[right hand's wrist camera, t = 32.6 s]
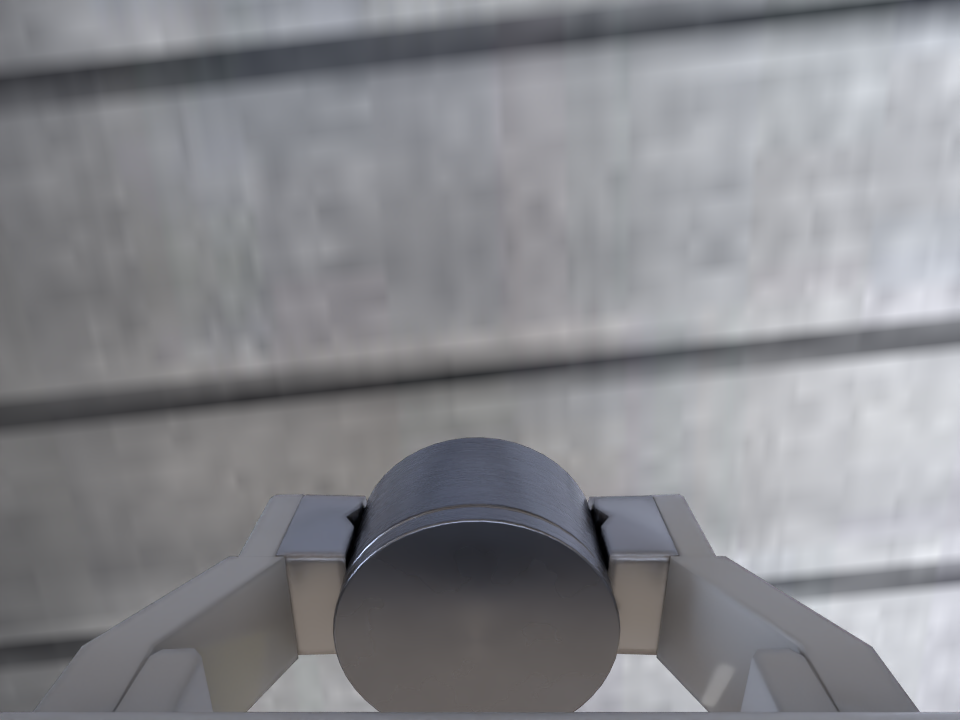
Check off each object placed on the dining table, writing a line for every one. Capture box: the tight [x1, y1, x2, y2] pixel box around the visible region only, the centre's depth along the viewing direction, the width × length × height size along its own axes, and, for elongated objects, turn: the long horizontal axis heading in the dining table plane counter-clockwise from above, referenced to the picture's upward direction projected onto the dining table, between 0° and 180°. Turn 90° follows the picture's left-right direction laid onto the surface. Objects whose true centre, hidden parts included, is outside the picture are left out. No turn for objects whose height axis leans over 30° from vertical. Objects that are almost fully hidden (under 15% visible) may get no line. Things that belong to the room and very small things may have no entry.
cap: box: [333, 438, 621, 712], centre depth 9 cm, size 4×4×2 cm
